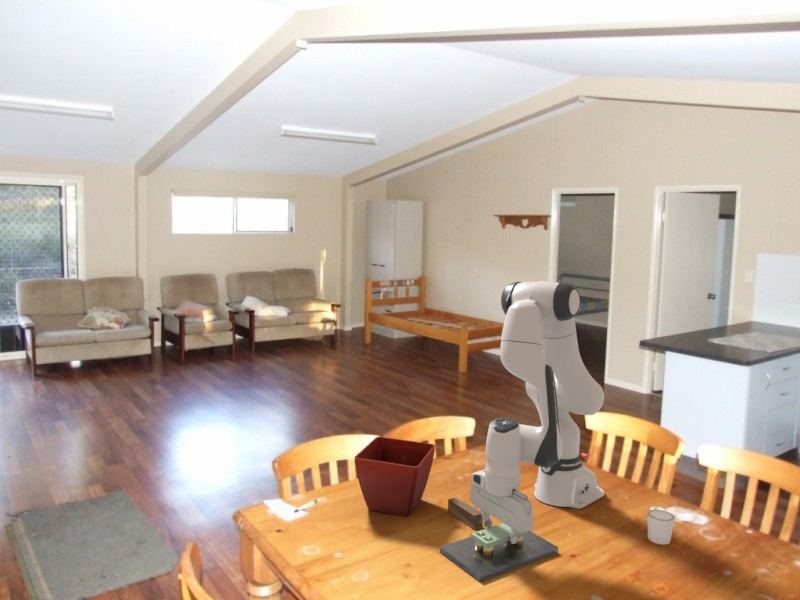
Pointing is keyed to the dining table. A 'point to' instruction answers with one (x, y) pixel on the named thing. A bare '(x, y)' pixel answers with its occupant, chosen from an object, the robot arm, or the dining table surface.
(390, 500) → the plant pot
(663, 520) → the white cup
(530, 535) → the peg assembly base
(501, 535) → the board
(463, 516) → the stand
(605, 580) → the dining table surface
